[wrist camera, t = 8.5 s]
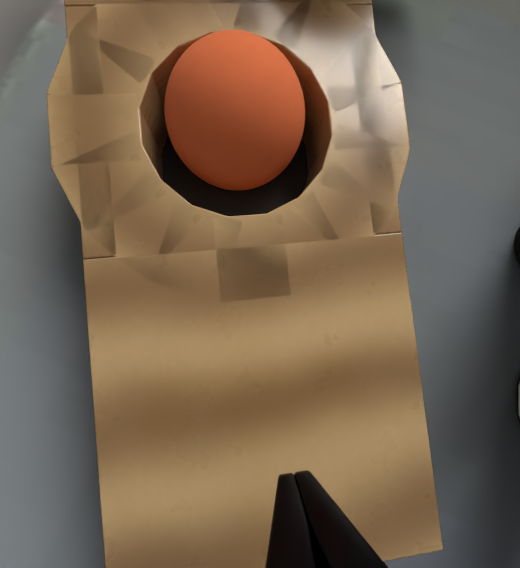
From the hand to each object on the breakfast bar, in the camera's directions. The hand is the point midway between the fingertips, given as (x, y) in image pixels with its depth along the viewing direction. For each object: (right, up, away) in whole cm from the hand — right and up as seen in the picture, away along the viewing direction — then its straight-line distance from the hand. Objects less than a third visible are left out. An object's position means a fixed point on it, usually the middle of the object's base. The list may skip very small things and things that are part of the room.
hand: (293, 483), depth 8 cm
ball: (-2, +14, +7) cm, 16 cm away
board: (-2, +7, +11) cm, 13 cm away
